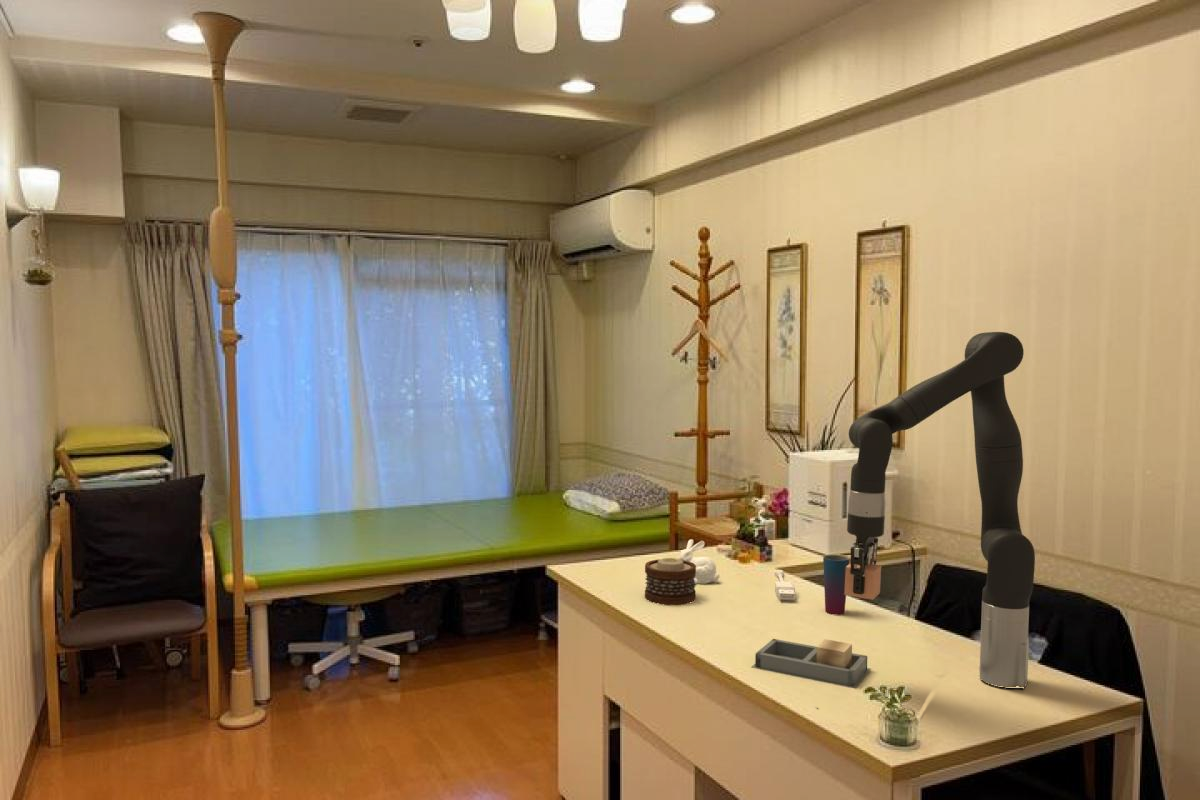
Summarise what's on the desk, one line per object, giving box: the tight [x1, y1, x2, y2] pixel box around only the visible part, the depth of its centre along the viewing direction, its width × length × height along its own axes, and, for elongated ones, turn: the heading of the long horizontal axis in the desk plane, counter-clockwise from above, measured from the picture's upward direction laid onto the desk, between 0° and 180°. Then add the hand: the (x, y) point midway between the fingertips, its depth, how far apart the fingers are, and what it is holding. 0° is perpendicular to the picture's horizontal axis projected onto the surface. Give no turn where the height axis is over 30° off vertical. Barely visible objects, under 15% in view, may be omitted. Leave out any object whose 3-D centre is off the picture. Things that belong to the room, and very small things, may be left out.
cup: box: [822, 554, 850, 616], centre depth 242 cm, size 7×7×15 cm
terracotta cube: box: [844, 562, 882, 600], centre depth 191 cm, size 6×6×6 cm
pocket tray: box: [751, 638, 872, 689], centre depth 198 cm, size 23×13×4 cm, turn 59°
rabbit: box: [678, 539, 721, 585], centre depth 273 cm, size 12×9×12 cm
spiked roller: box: [644, 557, 697, 606], centre depth 255 cm, size 15×11×15 cm
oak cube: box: [816, 638, 853, 669], centre depth 195 cm, size 6×6×6 cm
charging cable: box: [774, 569, 796, 601], centre depth 267 cm, size 5×32×3 cm, turn 173°
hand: (862, 589), depth 191 cm, fingers closed on terracotta cube, 6 cm apart
